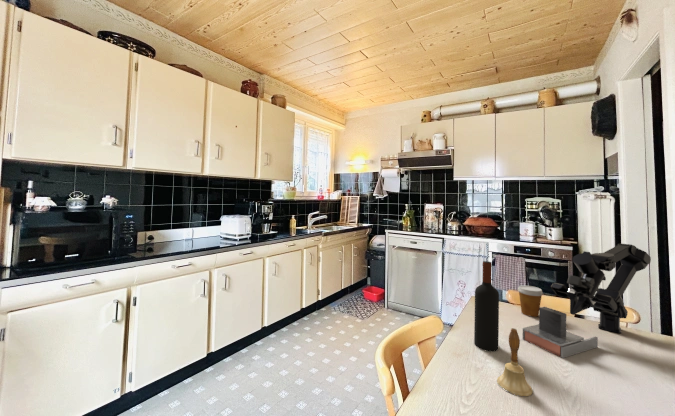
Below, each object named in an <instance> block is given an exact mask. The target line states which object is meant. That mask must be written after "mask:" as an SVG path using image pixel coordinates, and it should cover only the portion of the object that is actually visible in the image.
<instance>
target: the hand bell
mask: <svg viewBox="0 0 675 416" xmlns="http://www.w3.org/2000/svg"><path fill="white" fill-rule="evenodd" d="M520 342H521V340H520V336H519V333H518V330H517V329H516V328H511V329H510V332H509V335H508V346H509V349H510V362H507V363H505V364H504V370H503V373H502V374H501V375H499V376H498V377H497V379H496V382H497V385H498V384H499V385H500V386H501V387H502V388H504V389H505V390H507V391H509V392H511V393H512V394H511V393H510V394H511V395H513V394H515V395H514V396H517V395H519V396H518V397H523V396H525V397H530V396H532V394H533V392H534V391H533V390H534V389H532V387H531V385H530V383H528V381H527V379H526V375H525V370H524V368H523V367H522V366H521V365H520V364H519V359H518V358H519V356H518V352H519V350H520ZM499 385H498V386H499ZM500 386H499V387H500ZM501 387H500V388H501ZM502 388H501V389H502ZM505 390H504V391H505ZM507 391H506V392H507ZM509 392H508V393H509Z"/></svg>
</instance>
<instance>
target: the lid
mask: <svg viewBox="0 0 675 416" xmlns="http://www.w3.org/2000/svg"><path fill="white" fill-rule="evenodd" d="M538 318H539V320H538V321H539V322H538V323H539V324H534V325H529V326H526V327H523V328H522V331H523V330H525V331H527V332H529V333H532V334H534V335H536V336H538V337H541V338H543V339H545V340H548V341H550V342H552V343H554V344H557V345H559V346H564V345H567V344H571V343H574V342H578V341H582V340H585V337H583V336H580V335H577V334H575V333H572V332H569V331H568V330H567V313H565V312H562V311H560V310H556V309H553V308H551V307H547V306H540V308H539V314H538Z"/></svg>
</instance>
